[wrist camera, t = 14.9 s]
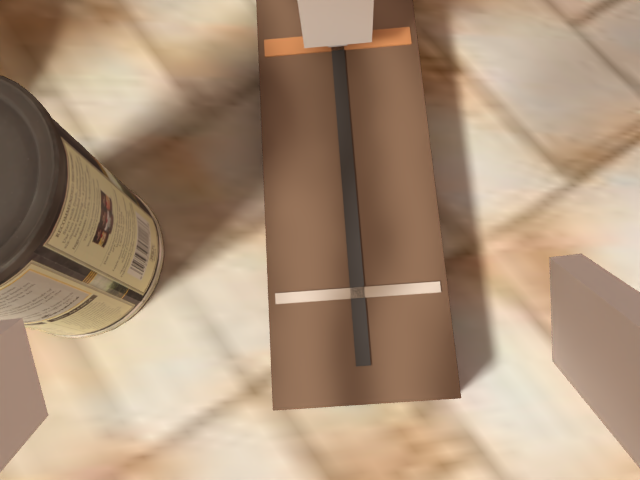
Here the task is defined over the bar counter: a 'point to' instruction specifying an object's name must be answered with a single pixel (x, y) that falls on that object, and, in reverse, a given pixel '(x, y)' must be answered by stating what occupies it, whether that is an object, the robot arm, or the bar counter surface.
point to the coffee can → (67, 229)
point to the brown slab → (351, 217)
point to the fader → (335, 22)
